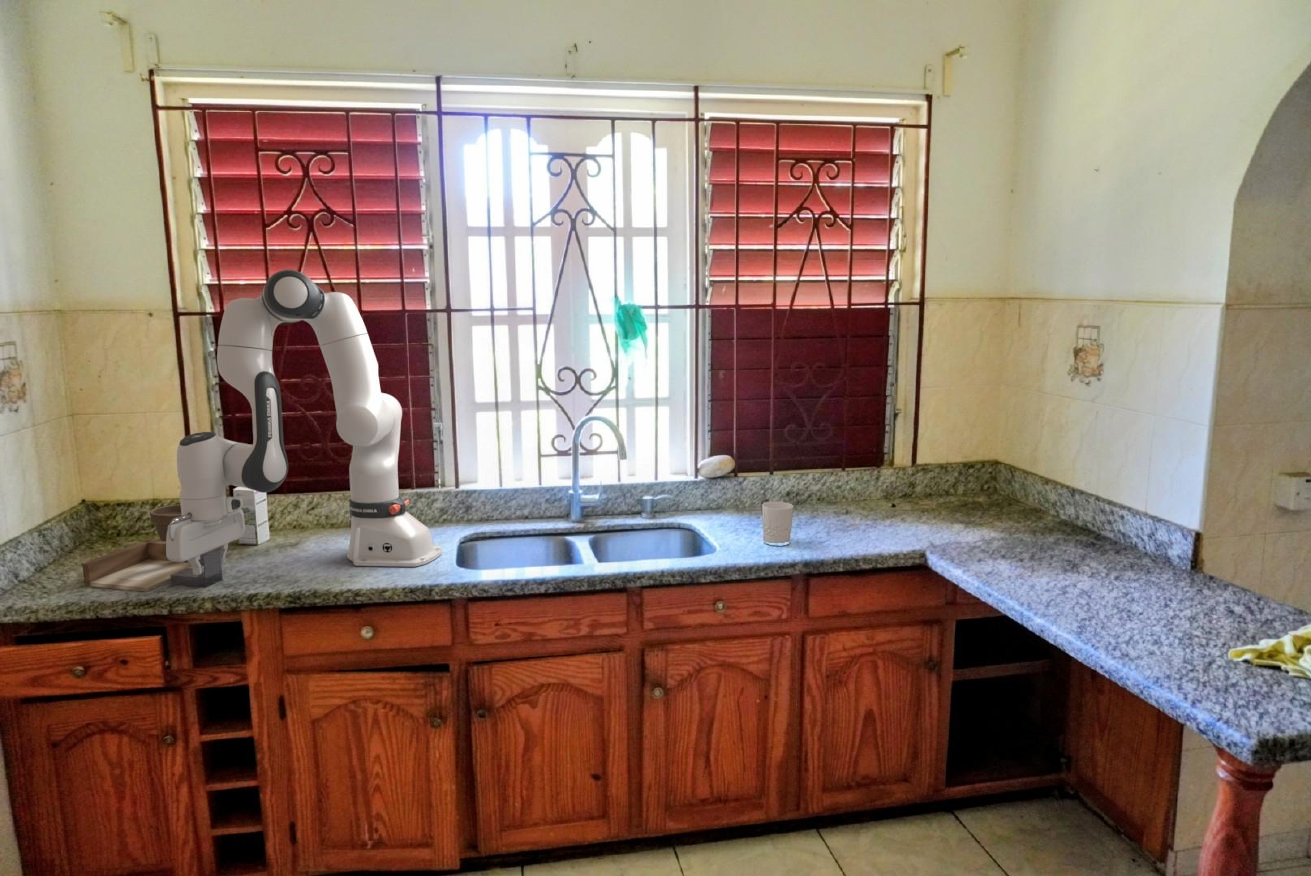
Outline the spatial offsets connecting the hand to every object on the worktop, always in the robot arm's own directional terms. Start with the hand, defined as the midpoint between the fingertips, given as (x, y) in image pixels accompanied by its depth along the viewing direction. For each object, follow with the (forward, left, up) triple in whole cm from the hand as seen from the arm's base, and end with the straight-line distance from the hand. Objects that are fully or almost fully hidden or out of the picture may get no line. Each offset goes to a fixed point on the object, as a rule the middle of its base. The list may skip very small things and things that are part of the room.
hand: (209, 569), depth 190 cm
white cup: (-119, -60, -3) cm, 133 cm away
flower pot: (+25, -20, -3) cm, 32 cm away
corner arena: (+17, -1, -3) cm, 17 cm away
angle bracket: (+4, 0, -3) cm, 5 cm away
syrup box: (+11, -29, -3) cm, 31 cm away
